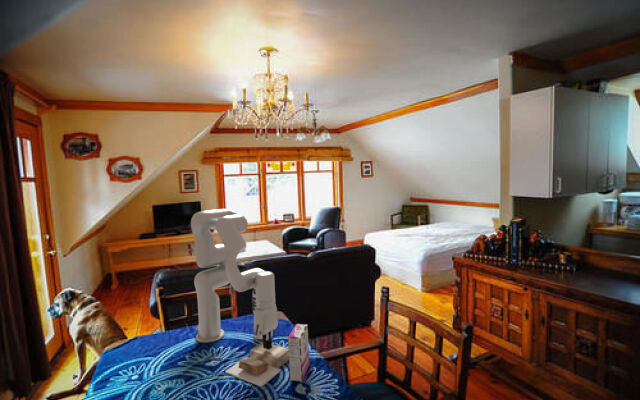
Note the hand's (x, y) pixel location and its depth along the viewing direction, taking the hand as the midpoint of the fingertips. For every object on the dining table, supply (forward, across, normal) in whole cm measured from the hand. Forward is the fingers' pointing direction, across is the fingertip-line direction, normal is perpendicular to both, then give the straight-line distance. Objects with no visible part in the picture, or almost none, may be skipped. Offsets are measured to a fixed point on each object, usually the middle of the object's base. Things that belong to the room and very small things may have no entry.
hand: (267, 347), depth 133 cm
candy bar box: (+6, +1, +16) cm, 17 cm away
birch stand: (+5, -1, 0) cm, 5 cm away
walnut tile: (+2, +8, 0) cm, 9 cm away
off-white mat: (+5, +9, 0) cm, 10 cm away
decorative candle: (+6, -16, -17) cm, 24 cm away
